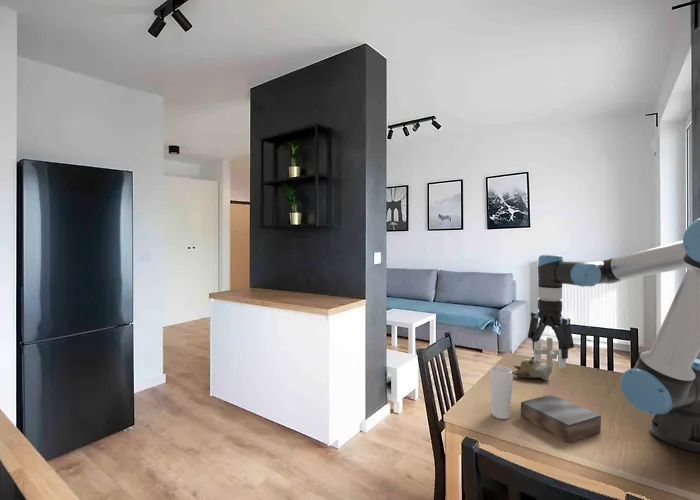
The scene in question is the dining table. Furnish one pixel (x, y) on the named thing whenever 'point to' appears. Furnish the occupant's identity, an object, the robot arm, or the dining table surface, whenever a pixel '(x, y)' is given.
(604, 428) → the dining table surface
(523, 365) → the ceramic sculpture
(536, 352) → the pipe connector
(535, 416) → the block
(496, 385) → the drinking glass
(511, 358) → the dining table surface
